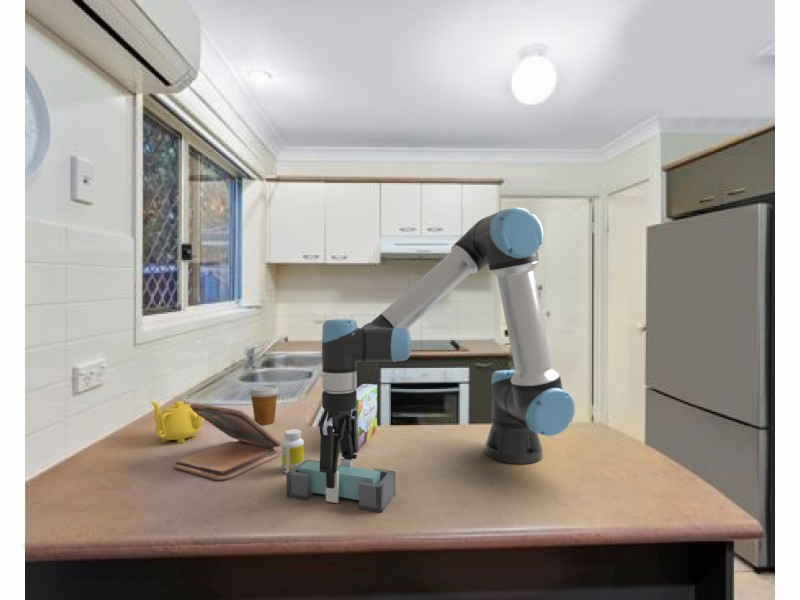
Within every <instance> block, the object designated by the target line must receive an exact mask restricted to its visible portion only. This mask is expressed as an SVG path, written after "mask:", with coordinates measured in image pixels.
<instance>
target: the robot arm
mask: <svg viewBox="0 0 800 600" xmlns="http://www.w3.org/2000/svg"><path fill="white" fill-rule="evenodd" d="M543 229H544V228H543V225H542V223H541V221H540V220H539V218H538V217H537V215H535V214H534V213H532V212H531V211H530V210H527V209H526V208H522V207H511V208H505V209H503V210H500V211H497V212H495V213H492V214H491V215H489V216H486V217H484V218H481V219H480V220H478V221H477V222H476V223H475V224H474V225H472V227H471V228H470V229H468V230H467V231H466V232H465V233H464V234H463V235H462V236H461V237H460V238H459V239H458V240H457V241H456V242H455V243H454V244H453V245H452V246H451V247H450V252H449V253H448V254H447V255H446V256H444V258H443V259H442V260H440V261H439V262H438V263H437V264H436V265H434V267H433V268H432V269H429V271H428V272H426V274H423V276H422V277H421V278H420V279H418V281H416V282H415V283H414V284H413V285H412V286H411V287H410V288H408V290H406V291H405V292H404V293H403V294H402V295H400V297H398V298H397V299H396V300H395V301H394V302H392V303H391V304H390V305H389V306H388V307H386V308H385V310H383V311H382V312H381V313H380V314H379V315H378V316H376V317H375V318H374V319H373V320H372V321H371V322H368V323H366V324H364V325H363V326H362V327H358V324H357V321H356V320H355V319H346V318H345V319H342V318H341V319H340V318H338V319H337V318H336V319H327V320H325V321H324V323H323V324H322V335H321V370H322V372H321V373H322V374H321V375H320V376H321V378H322V382H321V383H322V384H321V385H322V386H321V387H322V389H323V391H322V393H321V406H322V409H323V410H326V412H327V417H326V423H325V424H320V425H319V433H320V445H319V446H320V448H319V449H320V450H319V461H320V472H324V473H326V495H325V502H330V503H336V504H338V503H339V502H340V497H339V471H337V465H338V464H339V466H346V467H353V460H357V456H358V455H357V453H358V452H357V428H356V419H357V411H354V410H352V409H354V408H355V407H356V405H357V392H356V390H355V389H357V388H358V384H357V383H358V377H357V375H358V374H357V371H358V370H357V367H358V366H357V363H372V362H373V363H374V362H376V363H377V362H381V363H382V362H385V363H386V362H393V363H396V362H403V361H404V362H405V361H407V360H408V359H409V358H410V356H411V350H412V340H411V339H412V338H411V334H410V331H409V330H408V329H410V328H411V327H413V325H414V324H415V323H417V321H419V320H420V319H421V318H422V317H423V316H424V315H425V314H426V313H427V312H429V311H430V310H431V309H432V308H433V307H435V306H436V304H438V303H439V302H440V301H441V300H443V298H444V297H445V296H447V295H448V294H449V293H450V292H451V291H452V290H453V289H455V288H456V287H457V286H459V284H460V283H461V282H463V281H464V280H465V278H467V277H468V276H469V275H470V274H471V275H475V274H477V273H478V272H479V271H481V270H482V269H483V268H485V267H486V266H488V269H489V272H490V273H492V274H493V275H494V276H496V278H497V281H498V286H499V287H498V289H499V292H500V298H501V299H500V300H501V303H502V309H503V314H504V320H505V325H506V328H507V329H506V330H507V334H508V341H509V345H510V350H511V356H512V359H513V366H514V369H502V370H495V371H493V373H492V375H491V383H490V385H491V427H490V429H489V433H488V435H487V438H486V442H485V453H486V455H487V456H488V457H489V458H490V459H494V460H496V461H498V462H503V463H508V464H515V465H516V464H519V465H522V464H525V465H526V464H532V463H535V462H536V463H537V462H538V461H540V460H542V459H543V453H544V452H543V445H542V442H541V440H540V436H539V435H541V436H545V437H553V436H557V435H559V434H561V433H563V432H564V431H566V429H568V427H569V426H570V424H571V423H572V421H573V419H574V418H575V414H576V404H575V401H574V399H573V397H572V395H571V394H570V393H569V392H568V391H566V390H565V389H563V385H562V379H561V375H560V374H561V373H560V372H559V371H558V370H555V368H553V366H552V361H551V356H550V351H549V344H548V340H547V336H546V329H545V325H544V319H543V313H542V308H541V302H540V297H539V292H538V291H539V290H538V285H537V282H536V275H535V268H536V267H537V266H538V264H539V263H540V259H539V255H538V251H539V250H540V249H541V245H542V244H543V241H544V230H543ZM340 451H341V458H340V460H339V456H340ZM338 462H339V463H338Z"/></svg>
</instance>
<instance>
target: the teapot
mask: <svg viewBox="0 0 800 600" xmlns="http://www.w3.org/2000/svg"><path fill="white" fill-rule="evenodd" d="M150 403H151V404H152V406H153V407H154V422H155V423H156V424H155V429H154V430H155V434H156V435H157V437H158V438H160V439H161V441H160V443H168V442H170V441H173V440H174V441H175V440H176V444H178V445H180V444H184V443H186V439H187V438H197V437H198V434H199V432H200V431H201V430H202V429H203V426H204V425H203V424H204V421H205V419H204V418H202V417H201V416H199V415H198V414H197V413H195V412H194V411H193V410H192V409H191V407H190V405H191V404H192V403H184V401H183V400H182V401H181V400H177V401H175V402H174V403H173V405H169V406H166V407H165V408H164V409H163V410H162V409H161V407H160V404H159V403H158V402H156V401H154V400H153V401H150Z"/></svg>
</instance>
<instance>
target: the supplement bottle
mask: <svg viewBox="0 0 800 600" xmlns="http://www.w3.org/2000/svg"><path fill="white" fill-rule="evenodd" d="M304 461H305V441H304V439H303V438H302V431H301V429H298V428H294V429H293V428H292V429H288V430H285V431H284V440H283V441H282V442H281V462H282V463H281V464H282V465H281V466H282V467H281V469H282V472H283V473H285V474H286V473H288V472H289V471H291V470H292V469H293V468H295V467H296V466H298V465H299V464H301V463H302V462H304Z"/></svg>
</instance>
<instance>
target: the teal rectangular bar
mask: <svg viewBox="0 0 800 600" xmlns="http://www.w3.org/2000/svg"><path fill="white" fill-rule="evenodd" d="M337 471H339V498H345V499H350V500H356V501H357V500H358V501H359V483H360V482H367V483H374V484H379V482H380V471H375V470H373V469H368V468H367V469H366V468H359V467H353V466H352V467H346V466H340V464H339V465H338V464H337ZM299 473H305V474H309V492H313V493H314V494H318V495H319V494H321V495H325V496H326V473H324V472H320V463H316V462H309V461H308V462H306V463H305V464H303V465H302V466H301V467H299Z"/></svg>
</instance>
